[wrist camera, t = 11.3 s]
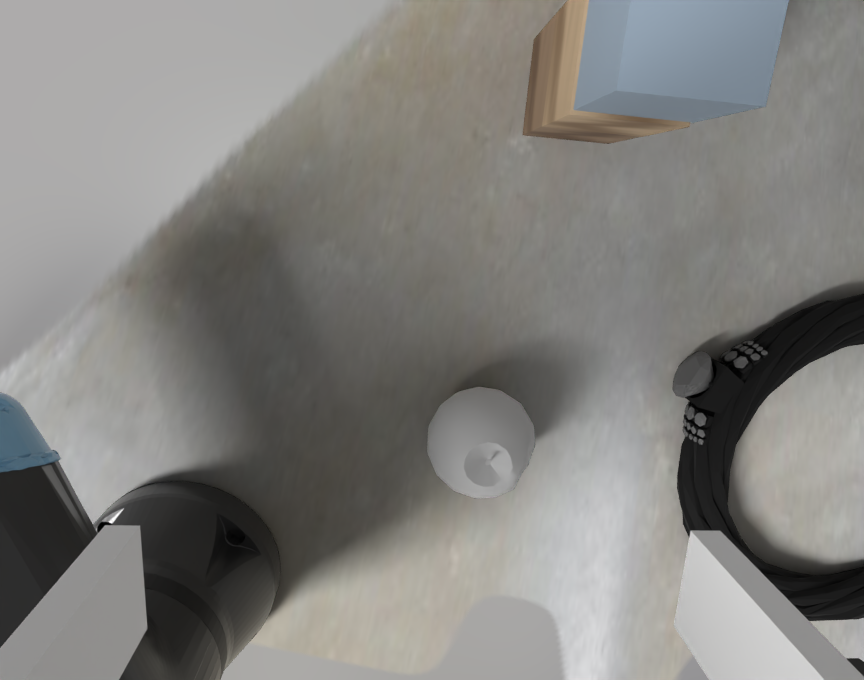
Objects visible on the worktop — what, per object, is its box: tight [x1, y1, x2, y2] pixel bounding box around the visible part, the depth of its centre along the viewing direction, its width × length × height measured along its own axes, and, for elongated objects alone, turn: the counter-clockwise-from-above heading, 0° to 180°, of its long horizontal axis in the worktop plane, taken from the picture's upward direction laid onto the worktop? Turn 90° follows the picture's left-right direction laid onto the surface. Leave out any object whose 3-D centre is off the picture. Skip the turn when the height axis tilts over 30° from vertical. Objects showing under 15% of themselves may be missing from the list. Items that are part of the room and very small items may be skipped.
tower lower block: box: [523, 13, 639, 144], centre depth 37 cm, size 6×6×6 cm
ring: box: [673, 294, 864, 621], centre depth 46 cm, size 28×4×30 cm
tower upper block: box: [542, 0, 690, 137], centre depth 31 cm, size 6×6×6 cm
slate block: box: [574, 0, 789, 123], centre depth 25 cm, size 6×6×6 cm
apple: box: [427, 387, 535, 499], centre depth 41 cm, size 8×8×8 cm
